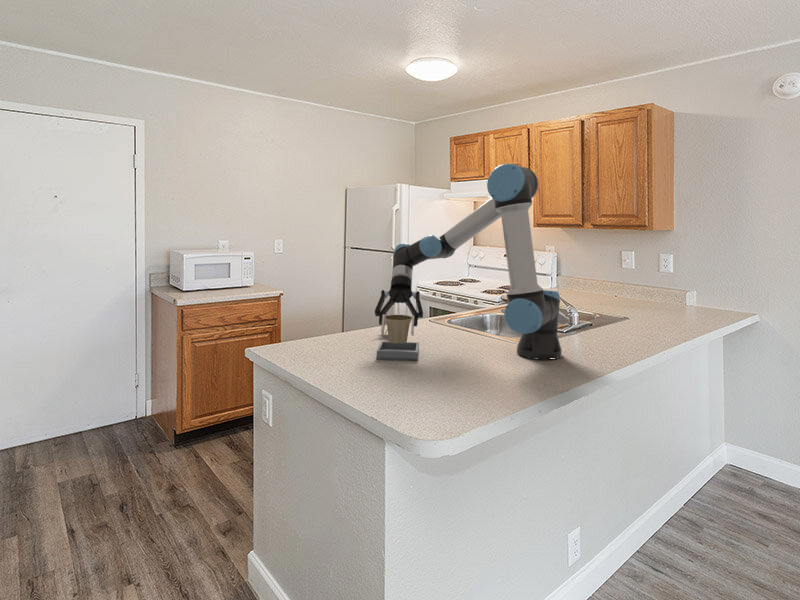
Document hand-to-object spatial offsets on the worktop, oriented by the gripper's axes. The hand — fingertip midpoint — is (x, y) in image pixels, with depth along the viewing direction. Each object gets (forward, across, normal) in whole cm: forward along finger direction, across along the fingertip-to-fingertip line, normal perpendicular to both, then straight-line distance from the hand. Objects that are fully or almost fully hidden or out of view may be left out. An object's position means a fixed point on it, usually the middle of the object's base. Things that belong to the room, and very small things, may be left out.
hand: (397, 332), depth 169 cm
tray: (+4, 0, -8) cm, 9 cm away
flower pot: (+1, 0, -5) cm, 5 cm away
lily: (-17, +5, -29) cm, 34 cm away
